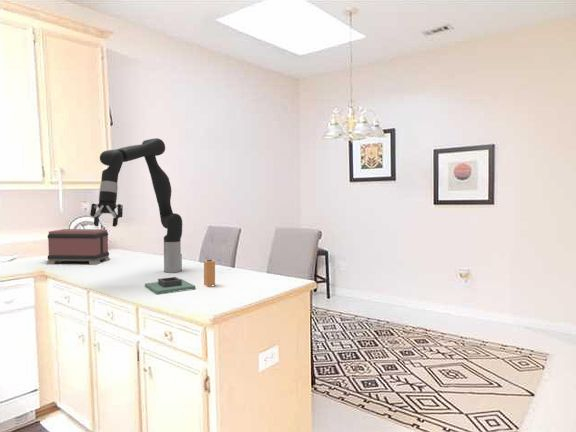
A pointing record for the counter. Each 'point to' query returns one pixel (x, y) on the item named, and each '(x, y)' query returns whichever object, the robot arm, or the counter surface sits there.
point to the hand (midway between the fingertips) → (105, 226)
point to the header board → (169, 285)
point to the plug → (209, 273)
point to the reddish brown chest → (78, 245)
